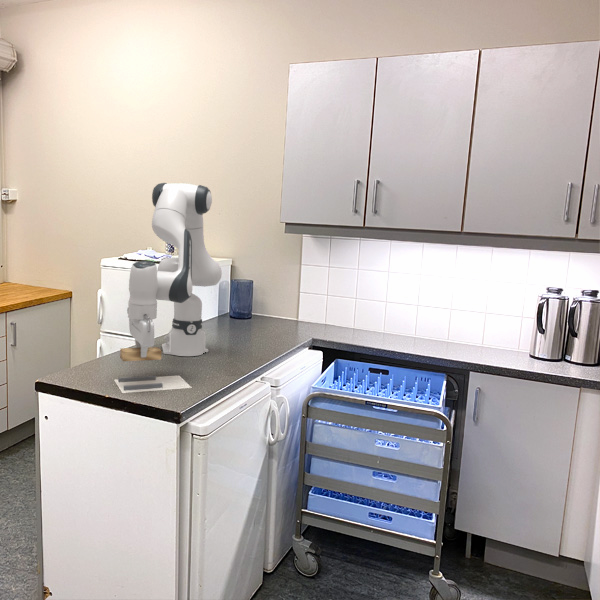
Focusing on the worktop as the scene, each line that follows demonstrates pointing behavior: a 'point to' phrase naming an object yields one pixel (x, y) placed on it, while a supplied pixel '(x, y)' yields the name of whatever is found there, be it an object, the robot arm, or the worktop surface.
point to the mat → (150, 383)
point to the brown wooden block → (134, 354)
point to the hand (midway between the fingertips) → (141, 354)
